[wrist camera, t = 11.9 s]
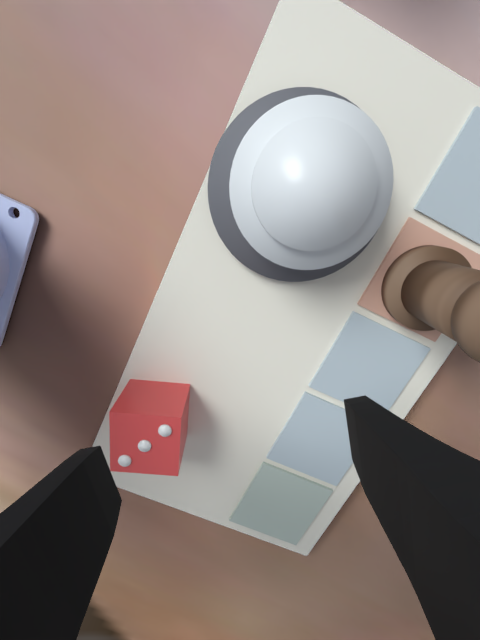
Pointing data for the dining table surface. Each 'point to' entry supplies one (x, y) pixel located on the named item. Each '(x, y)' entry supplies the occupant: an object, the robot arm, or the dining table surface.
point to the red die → (149, 427)
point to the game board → (305, 290)
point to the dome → (311, 182)
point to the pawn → (435, 294)
